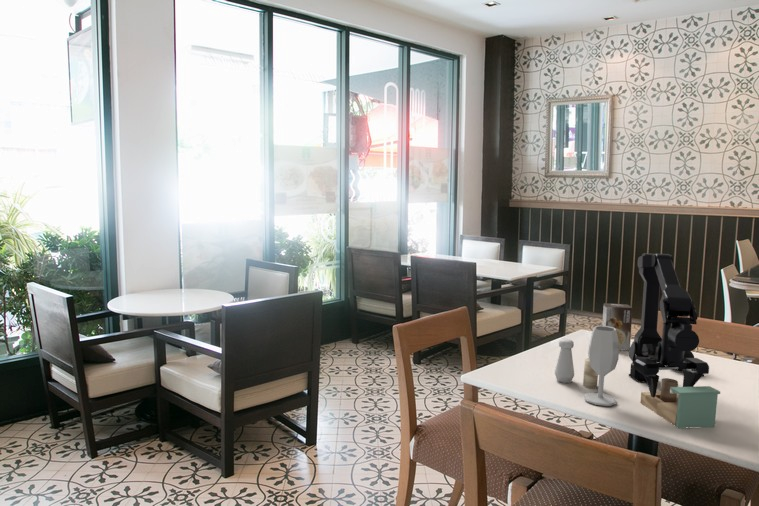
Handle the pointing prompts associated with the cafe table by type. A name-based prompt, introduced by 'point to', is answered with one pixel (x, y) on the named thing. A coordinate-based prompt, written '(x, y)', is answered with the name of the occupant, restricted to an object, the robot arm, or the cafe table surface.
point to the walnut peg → (668, 390)
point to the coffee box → (619, 322)
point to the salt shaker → (565, 362)
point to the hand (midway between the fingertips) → (668, 396)
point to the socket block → (660, 406)
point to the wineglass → (602, 361)
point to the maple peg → (589, 376)
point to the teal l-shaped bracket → (696, 406)
